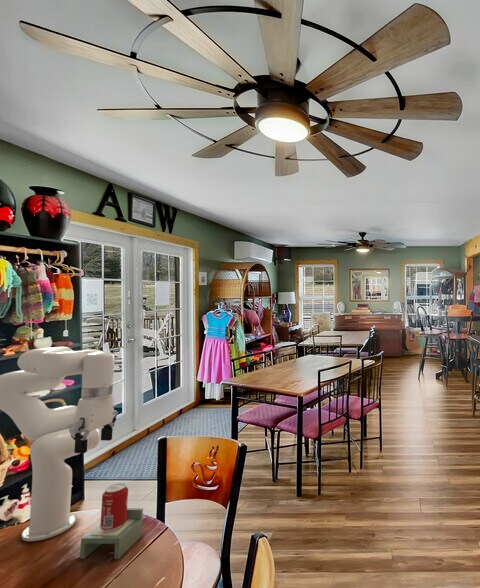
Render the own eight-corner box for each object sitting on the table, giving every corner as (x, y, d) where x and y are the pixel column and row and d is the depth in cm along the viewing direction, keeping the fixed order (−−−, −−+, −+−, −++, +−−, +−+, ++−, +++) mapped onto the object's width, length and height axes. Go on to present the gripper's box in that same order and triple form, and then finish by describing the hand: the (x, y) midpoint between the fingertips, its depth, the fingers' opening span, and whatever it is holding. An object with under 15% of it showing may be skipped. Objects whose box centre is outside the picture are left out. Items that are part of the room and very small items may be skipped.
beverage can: (131, 521, 109) (133, 483, 109) (113, 534, 102) (115, 493, 103) (113, 519, 109) (115, 481, 110) (94, 532, 103) (96, 491, 103)
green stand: (79, 559, 100) (81, 528, 101) (106, 536, 110) (108, 508, 111) (118, 559, 101) (120, 528, 101) (141, 536, 111) (143, 508, 111)
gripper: (106, 385, 117) (103, 435, 116) (59, 398, 100) (55, 458, 99) (129, 385, 117) (126, 436, 116) (86, 399, 100) (82, 458, 99)
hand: (94, 446), depth 108 cm, fingers open, 9 cm apart
